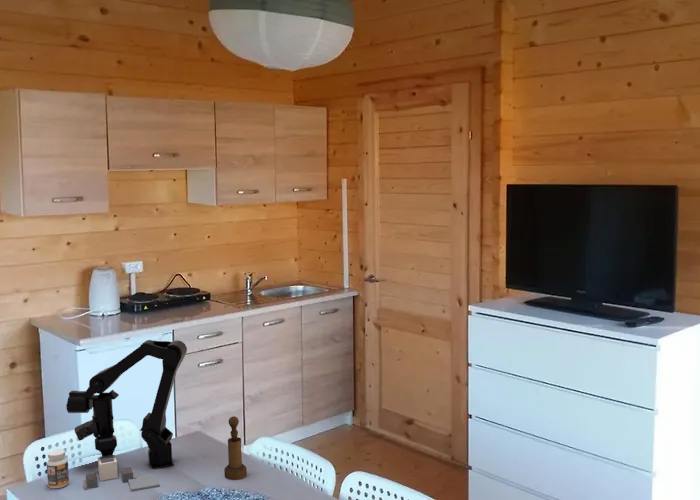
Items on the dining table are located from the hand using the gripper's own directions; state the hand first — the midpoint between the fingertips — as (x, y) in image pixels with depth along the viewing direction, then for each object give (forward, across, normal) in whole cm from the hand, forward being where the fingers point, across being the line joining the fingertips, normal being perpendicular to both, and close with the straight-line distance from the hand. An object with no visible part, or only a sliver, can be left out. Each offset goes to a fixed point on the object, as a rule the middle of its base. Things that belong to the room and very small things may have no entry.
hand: (105, 460), depth 227 cm
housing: (+1, +14, 0) cm, 14 cm away
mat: (+1, +20, +9) cm, 22 cm away
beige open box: (+1, +9, 0) cm, 9 cm away
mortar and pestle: (+1, +26, +35) cm, 44 cm away
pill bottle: (+2, +10, -14) cm, 17 cm away
